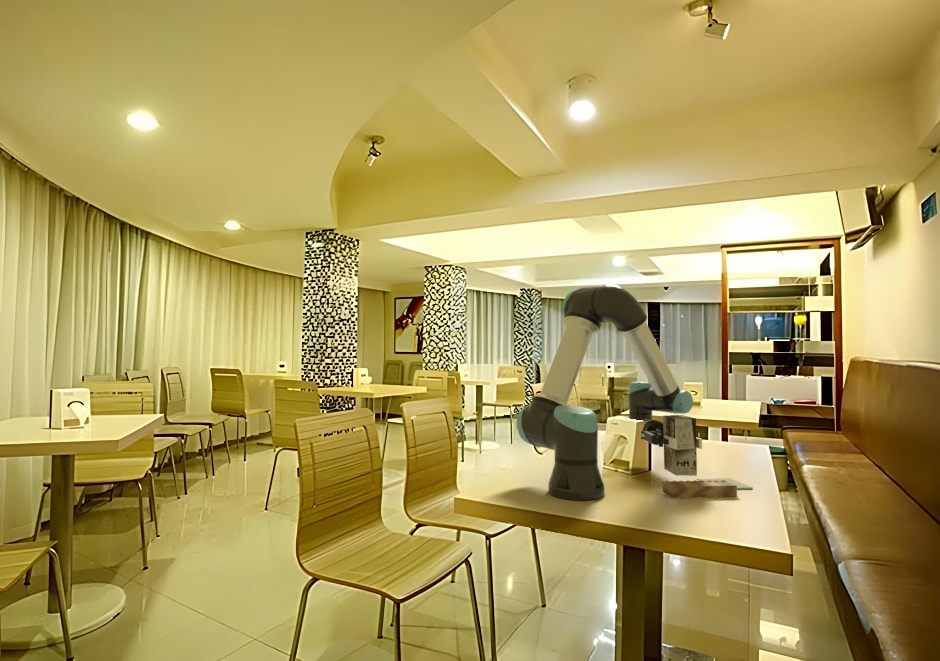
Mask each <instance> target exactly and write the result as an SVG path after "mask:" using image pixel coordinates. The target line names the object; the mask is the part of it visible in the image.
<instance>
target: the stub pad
mask: <svg viewBox="0 0 940 661" xmlns="http://www.w3.org/2000/svg"><path fill="white" fill-rule="evenodd" d="M697 480H699V481H700V480H704V481H707V480H711V481H714V480H718V481H721V480H725V481H728V482H730V483H732V484H735V485H737V489H742V490H743V489H744V490H753V487H752V486H750V485H748V484H745V483H743V482H741V481H739V480H736V479H733V478H731V477H729V478H728V477H727V478H725V477H724V478H722V477H721V478H696V481H697Z"/></svg>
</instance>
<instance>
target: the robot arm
mask: <svg viewBox="0 0 940 661" xmlns="http://www.w3.org/2000/svg"><path fill="white" fill-rule="evenodd" d="M561 310H562V311H563V312H562V315H563V316H562V317H563V318H564V319H563V322H564V325H565V328H564V331H563V334H562V337H561V339H560V342H559V345H558V347H557V349H556V351H555V354H554V358H553V359H552V362H551V365H550V367H549V370H548V373H547V376H546V377H545V380H544V383H543V386H542V388H541V391H540V393H538V394H536V395H535V394H534V396H533V398H532V399H531V402H530V405H526V406H525V407H522V409H521V410H520V411H519V412H518V414H517V418H516V430H517V431H518V432H517V433H518V435H519V437H520V438H521V440H522V441H524V442H525V443H527V444H528V445H532V446H534V447H538V448H544V449H548V450H553V451H554V464H553V468H552V472H551V475H550V477H549V481H548V486H547V487H548V493H549V494H550V495H552V496H553V497H556V498H560V499H564V500H571V501H572V500H573V501H592V500H598V499H601V498H603V497H605V493H606V492H605V485H604V481H603V479H602V478H603V477H602V475H601V472H600V470H599V466H598V457H599V456H598V451H599V450H598V448H599V447H598V446H599V445H598V444H599V443H598V438H599V437H598V435H599V434H598V432H599V431H598V430H599V425H598V420H597V419H598V417H597V414H596V413H595V411H594V410H592V409H590V408H587V407H584V406H579V405H578V406H577V405H570V404H568V402H569V399H570V396H571V394H572V391H573V389H574V386H575V383H576V381H577V378H578V375H579V372H580V369H581V367H582V363H583V361H584V359H585V356H586V353H587V350H588V347H589V345H590V342H591V340H592V337H593V336H595V335H598V334H599V332H600V330H601V327H602V324H603V323H611V324H613V325H614V326H615V328H616V330H617V332H619V333H622V335H623V336H624V338H625V340H626V341H627V344H628V345H629V347H630V349H631V351H632V353H633V355H634V357H635V359H636V360H637V362H638V364H639V366H640V368H641V369H642V372H643V373H644V375H645V377H646V380H647V381H631V382H630V383H629V385H628V386H629V388H628V407H629V408H628V409H629V410H628V411H629V414H628V417H627V418H630V419H636V420H643V421H645V422H644V427H643V430H642V431H641V439H640V440H642V439H644V440H646V441H645V442H647V441H648V442H649V443H650V444H652V445H654V446H658V447H659V448H664V445H665V446H668V447H670V448H673V449H677V439H674V438H671V437H669V436H664V434H663V421H659V420H655V419H653V411H654V412H664V413H670V414H674V415H683V414H687V413H690V411H691V410H692V408H693V404H694V398H693V395H692V393H691V392H689V391H688V390H684V389H680V387H679V384H678V383H677V380H676V379H675V378H674V377H675V376H674V375H673V373H672V370H671V369H670V366H669V365H668V363H667V361H666V359H665V357H664V356H663V352H662V351H661V349H660V348H659V347H660V346H659V345H658V344H657V341H656V339H655V337H654V335H653V333H652V331H651V329H650V328H649V326H648V323H647V321H648V316H647V313H646V312H645V310H644V308H643V306H642V305H641V304H640V303H639V301H638V300H637V298H635V296H633V295H632V293H630V292H629V291H628V290H626V289H625V288H624V287H621V286H619V285H617V284H611V283H610V284H601V285H595V286H590V287H589V286H588V287H580V288H578V289H577V288H576V289H573V290H571V291H570V292H568V293H567V295H566V296H565V298H564V300H563V301H562V307H561ZM644 440H643V441H644ZM648 442H647V443H648ZM649 443H648V444H649ZM696 449H703V439H702V438H701V437H700V438H699V435H698V434H696Z"/></svg>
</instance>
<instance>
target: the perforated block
mask: <svg viewBox="0 0 940 661" xmlns="http://www.w3.org/2000/svg"><path fill="white" fill-rule="evenodd" d="M663 492H664V493H665V495H666V494H667V495H666V496H668V495H669V496H670V498H671V497H672V498H671V499H697V497H707V498H729V497H728V496H737V497H738V490H737V485H735V484H732V483H730V482H728V481H725V480H721V481H718V480H714V481H711V480H707V481H704V480H700V481H697V479H695V480H694V479H693V480H685V481H684V480H679V481H676V480H672V481H669V480H666V481H662V493H663ZM664 493H663V494H664ZM669 496H668V497H669Z"/></svg>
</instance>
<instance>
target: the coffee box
mask: <svg viewBox="0 0 940 661" xmlns="http://www.w3.org/2000/svg"><path fill="white" fill-rule="evenodd" d="M662 423H663V434H664V436H669V437H671V438H674V439H677V449H673V448H670V447H668V446H665V445H664V444H663V468H664V470H665V471H667V472H670V473H671V474H673V475H674V476H688V477H689V476H691V477H692V476H693V477H696V476H697V474H698V471H697V470H698V468H697V466H698V464H697V463H698V462H697V448H696V435H697V418H696V417H695V418H694V417H692V416H688V415H683V414H670V415H662Z"/></svg>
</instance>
